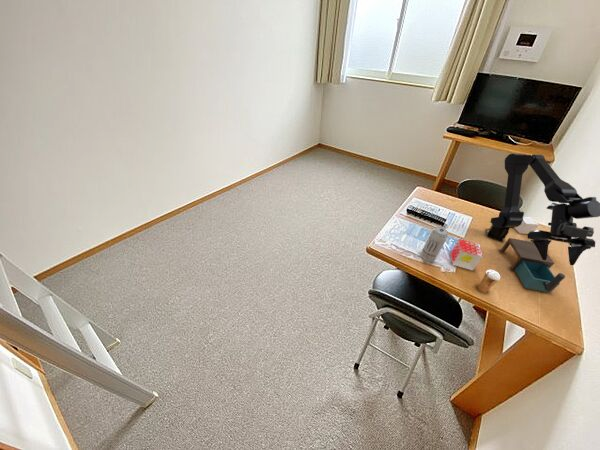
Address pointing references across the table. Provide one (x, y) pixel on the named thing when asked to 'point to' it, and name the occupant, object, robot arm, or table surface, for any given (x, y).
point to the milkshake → (488, 280)
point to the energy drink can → (434, 244)
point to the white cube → (527, 225)
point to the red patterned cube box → (466, 254)
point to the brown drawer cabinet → (525, 253)
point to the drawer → (538, 276)
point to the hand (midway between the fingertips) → (558, 262)
